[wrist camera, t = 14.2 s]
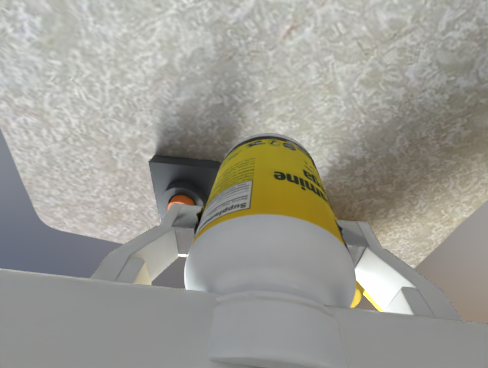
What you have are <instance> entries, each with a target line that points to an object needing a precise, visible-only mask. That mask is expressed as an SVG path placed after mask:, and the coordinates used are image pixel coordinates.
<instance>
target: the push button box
mask: <svg viewBox="0 0 488 368" xmlns="http://www.w3.org/2000/svg"><path fill="white" fill-rule="evenodd" d="M149 167H150V172H151V177H152V182H153V187H154V192H155V197H156V203H157V208H158V213H159V218H160V223H161V222H162V220H163V218H164V217H165V215H166V213H167V212H168V209H167V208H168V205H169V203H170V201H171V200H172V198H173V197H174V196H176V195H186V196H188V197H190V198H191V199H192V200H193V202H194V205H195V206H203V207H204V210H205V207H206V204H207V201H208V199H209V196H210V194H211V191H212V188H213V185H214V183H215V180H216V177H217V174H218V171H219V169H220V162H219V161H209V160H199V159H189V158H179V157H169V156H159V155H154V157H153V158H152V159H151V160H150V161H149Z"/></svg>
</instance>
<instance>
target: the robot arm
mask: <svg viewBox="0 0 488 368" xmlns="http://www.w3.org/2000/svg"><path fill="white" fill-rule="evenodd" d="M203 213H204V207H203V206H195V205H187V204H177V203H173V204H172V205H171V206H170V208H169V210H168V212H167V213H166V215H165V217H164V218H163V220H162V222H161V224H160V225H159V226H155V227H153V228H151V229H149V230H148V231H146V232H144V233H143V234H141V235H139V236H137V237H136V238H134V239H132V240H131V241H129V242H127V243H125V244H124V245H122V246H120V247H119V248H117V249H115V250H114V251H112V252H110V253H108V254H107V256H106V257H105V258H104V260H103V261H102V263H101V264H100V265H99V266H98V268H97V269H96V271H95V272H94V273H93V275H92V276H91V277H90V279H89V278H80V277H71V276H62V275H53V274H44V273H35V272H26V271H17V270H8V269H0V368H265V367H257V366H249V365H240V364H231V363H222V362H214V361H211V360H210V359H209V358H208V348H209V342H210V335H211V328H212V322H213V316H214V311H213V309H214V308H215V307H216V306H218V305H219V304H220V303H219V302H218V301H216V298H217V297H220V296H223V295H225V294H223V293H214V292H205V291H196V290H187V289H177V288H169V287H160V286H152V284H151V281H153V280H154V279H155V278H156V277H157V276H158V275H159V274H160V273H161V272H162V271H164V270H165V269H166V268H167V267H168V266H169V265H170V264H171V263H172V262H173V261H174V260H176V259H177V258H178V257H179V256H188V253H189V250H190V247H191V245H192V242H193V239H194V237H195V234H196V231H197V229H198V226H199V223H200V221H201V218H202V215H203ZM337 222H338V225H339V227H340V229H341V231H342V233H343V237H344V240H345V242H346V245H347V247H348V250H349V253H350V255H351V258H352V261H353V265H354V269H355V274H356V280H357V281H358V282H359V283H360V285H361V286H362V287H363V288H364V289H365V290H366V291H367V292H368V294H369V295H370V296H371V297H372V298H373V299H374V300H375V302H376V303H377V304H378V305H379V306H380V307H381V308H382V309H383V311H374V310H364V309H356V308H348V307H339V306H330V305H323V306H324V307H326V308H328V309H329V310H331V311H333V312H334V316H332V318H333V319H335V320H336V321H337V322H338V331H339V335H340V339H341V343H342V348H343V351H344V356H345V360H346V364H347V368H488V323H480V322H472V321H463V319H462V318H461V317H460V315H459V314H458V312H457V311H456V309H455V308H454V307H453V305H452V304H451V302H450V301H449V300H448V298H447V297H446V295H445V294H444V292H443V291H442V290H441V289H440V288H439V287H437V286H435V285H434V284H433V283H431V282H430V281H429V280H428V279H426V278H425V277H423V276H422V275H421V274H419V273H418V272H417V271H415V270H414V269H413V268H411V267H410V266H409V265H407V264H406V263H405V262H403V261H402V260H400V259H399V258H398V257H396V256H395V255H394V254H392V253H391V252H390V251H388V250H387V249H383V248H382V246H381V245H380V243H379V241H378V239H377V238H376V236H375V234H374V232H373V231H372V229H371V227H370V225H369V224H368V223H367V222H362V221H347V220H337Z"/></svg>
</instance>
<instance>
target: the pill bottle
mask: <svg viewBox="0 0 488 368" xmlns="http://www.w3.org/2000/svg"><path fill="white" fill-rule="evenodd" d="M184 278H185V286H186V289H187V290H196V291H205V292H214V293H223V294H225V295H223V296H220V297H217V298H216V301H218V302H219V303H220V304H219V305H218V306H216V307H215V308H214V309H213V311H214V316H213V322H212V328H211V335H210V342H209V348H208V358H209V359H210V360H211V361H214V362H222V363H231V364H240V365H249V366H257V367H265V368H347V364H346V360H345V356H344V351H343V348H342V343H341V339H340V335H339V331H338V322H337V321H336V320H335V319H333V318H332V316H334V312H333V311H331V310H329V309H328V308H326V307H324V306H323V305H330V306H339V307H348V308H350V306H351V304H352V301H353V299H354V295H355V290H356V274H355V269H354V265H353V261H352V258H351V255H350V253H349V250H348V247H347V245H346V242H345V240H344V237H343V233H342V231H341V229H340V227H339V225H338V222H337V220H336V217H335V214H334V211H333V209H332V207H331V205H330V202H329V199H328V197H327V194H326V192H325V189H324V186H323V184H322V181H321V179H320V176H319V173H318V171H317V169H316V166H315V164H314V161H313V160H312V158H311V156H310V154H309V153H308V151H307V150H306V149H305V148H304V147H303V146H302V145H301V144H299V143H298V142H297V141H295V140H293V139H291V138H289V137H287V136H284V135H280V134H273V133H262V134H257V135H253V136H250V137H248V138H245V139H243V140H241V141H240V142H238V143H237V144H236V145H234V146H233V147H232V148H231V149H230V150H229V152H228V153H227V154H226V156H225V158H224V159H223V162H222V164H221V166H220V169H219V171H218V174H217V177H216V180H215V183H214V185H213V188H212V191H211V194H210V196H209V199H208V201H207V204H206V207H205V210H204V213H203V215H202V218H201V221H200V223H199V226H198V229H197V231H196V234H195V237H194V239H193V242H192V245H191V247H190V250H189V253H188V256H187V260H186V264H185V271H184Z"/></svg>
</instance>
